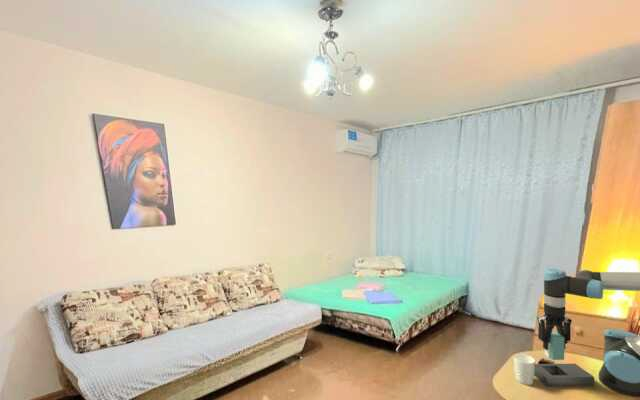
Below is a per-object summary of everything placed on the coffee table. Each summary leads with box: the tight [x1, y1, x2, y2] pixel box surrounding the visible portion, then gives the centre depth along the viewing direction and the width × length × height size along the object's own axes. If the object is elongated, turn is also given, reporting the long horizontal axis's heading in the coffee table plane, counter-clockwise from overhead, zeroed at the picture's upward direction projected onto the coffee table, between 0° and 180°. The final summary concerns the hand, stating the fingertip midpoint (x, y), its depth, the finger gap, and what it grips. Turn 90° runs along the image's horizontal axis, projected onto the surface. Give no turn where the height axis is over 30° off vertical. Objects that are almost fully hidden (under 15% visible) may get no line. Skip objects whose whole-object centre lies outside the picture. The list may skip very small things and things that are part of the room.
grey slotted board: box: [534, 363, 595, 388], centre depth 136 cm, size 20×10×4 cm, turn 89°
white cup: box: [513, 353, 536, 386], centre depth 136 cm, size 8×8×10 cm
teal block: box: [543, 331, 565, 361], centre depth 135 cm, size 5×5×10 cm
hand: (554, 356), depth 136 cm, fingers closed on teal block, 5 cm apart
